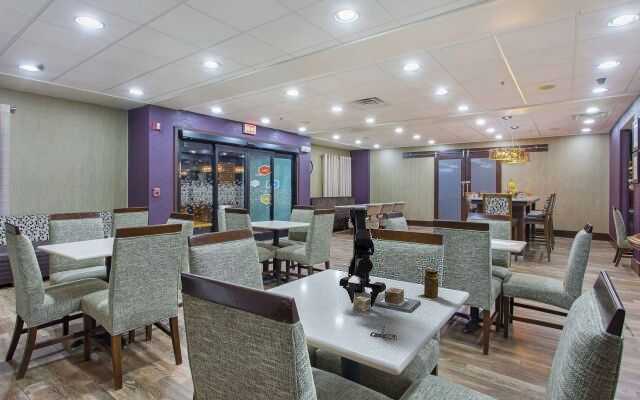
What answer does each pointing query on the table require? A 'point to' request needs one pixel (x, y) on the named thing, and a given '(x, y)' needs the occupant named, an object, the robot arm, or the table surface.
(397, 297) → the walnut block
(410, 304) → the board
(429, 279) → the condiment
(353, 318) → the table surface
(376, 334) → the strap clip
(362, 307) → the birch cube
